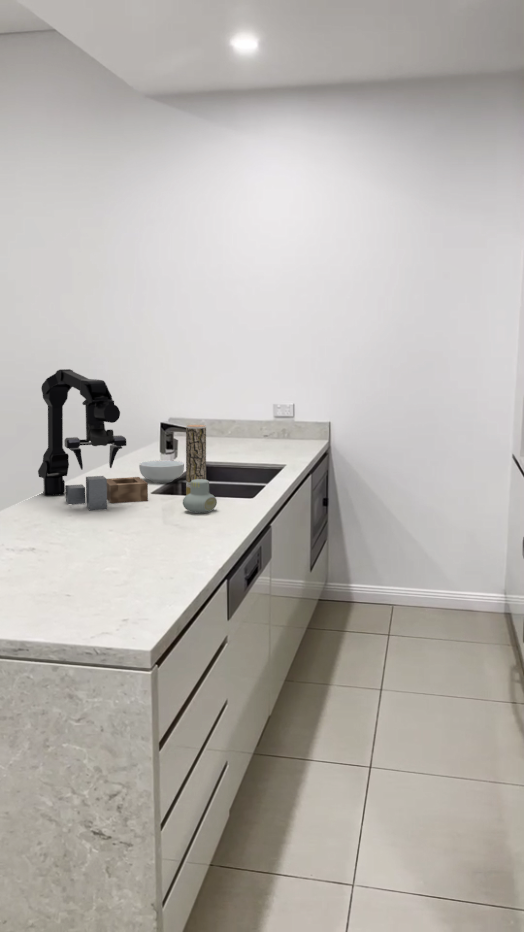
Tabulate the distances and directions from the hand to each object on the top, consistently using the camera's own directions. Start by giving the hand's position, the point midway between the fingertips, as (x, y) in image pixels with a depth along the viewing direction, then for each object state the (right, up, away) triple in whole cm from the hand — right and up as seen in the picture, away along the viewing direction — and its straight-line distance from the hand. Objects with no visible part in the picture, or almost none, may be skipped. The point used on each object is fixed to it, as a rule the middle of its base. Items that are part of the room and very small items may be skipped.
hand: (96, 468), depth 258 cm
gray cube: (-9, -11, +10) cm, 18 cm away
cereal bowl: (+15, -5, +50) cm, 52 cm away
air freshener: (+33, -14, -1) cm, 36 cm away
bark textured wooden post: (+30, -10, +20) cm, 38 cm away
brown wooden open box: (+6, -10, +17) cm, 21 cm away
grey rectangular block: (0, -13, +2) cm, 13 cm away
